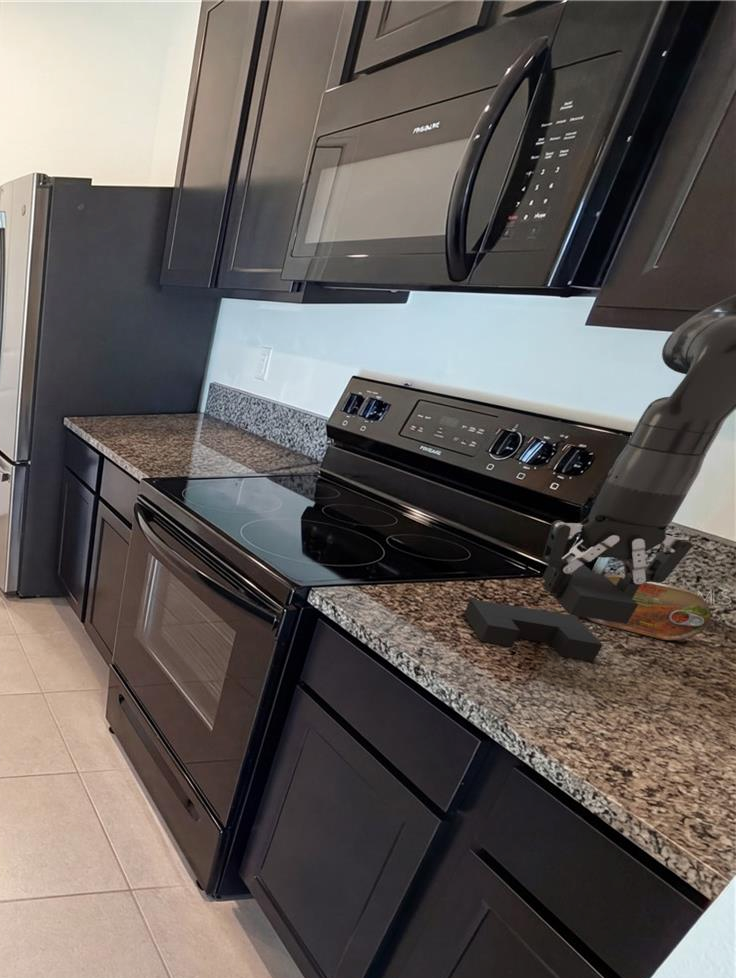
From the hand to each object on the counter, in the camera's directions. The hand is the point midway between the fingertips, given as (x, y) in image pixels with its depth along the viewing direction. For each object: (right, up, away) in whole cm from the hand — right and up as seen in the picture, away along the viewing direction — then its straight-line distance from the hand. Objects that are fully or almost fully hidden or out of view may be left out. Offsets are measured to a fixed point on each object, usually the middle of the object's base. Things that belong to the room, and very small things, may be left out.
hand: (584, 599), depth 90 cm
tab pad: (+1, 0, +2) cm, 2 cm away
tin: (+24, -5, +17) cm, 30 cm away
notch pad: (+4, -6, +14) cm, 15 cm away
